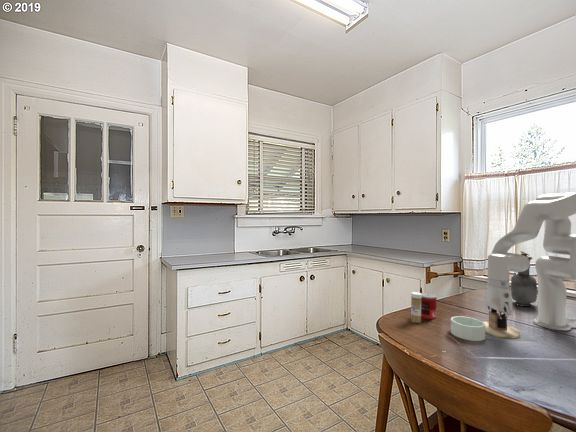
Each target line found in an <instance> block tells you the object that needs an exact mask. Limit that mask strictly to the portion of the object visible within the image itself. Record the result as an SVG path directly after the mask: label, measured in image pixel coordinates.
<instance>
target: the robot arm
mask: <svg viewBox="0 0 576 432" xmlns="http://www.w3.org/2000/svg"><path fill="white" fill-rule="evenodd" d="M520 211H521V212H520V214H519V215H518V218H517V220H516V223H515V225H514V228H513V229H512V230H511V231H510V232H508V233H506V234H505V235H504V236H502V237H500V239H498V241H496V243H495V245H494V246H493V248H492V251H491V253H490V254H489V255H488V256H487V282H486V283H487V286H486V293H485V294H486V296H485V305H486V306H487V310H488V314H489V313H498V317H499V318H497V327H498V328H506V319H507V320H508V318H509V317H511V316H512V312H513V298H512V296H511V288H510V272H515V273H516V272H517V273H518V272H523V271H525V270H527V269H528V268H529V266H530V267H531V260H530V261H529V259H528V258H527V257H525V256H523V255H521V253H520V254H519V253H512V252H508V251H509V250H510V249H511V248H512V247H514V246H516V245H519V244H521V243H524V242H528V241H531V240H534V239H535V238H537V237H538V235H539V233H540V230H541V229H542V227H543V226H542V225H543V223H544V221H545V229H544V234H543V241H542V242H543V243H542V247H543V249H544V251H545V252H547V253H551V254H557V255H564V256H565V255H566V256H569V257H561V256H552V255H541V256H539V257H538V258H537V259H536V260H535V263H534V264H535V267H534V268H535V271H536V274H537V275H536V276H537V317H536V318H533V321H532V322H533V323H534V324H535V325H537V326H539V327H542V328H545V329H550V330H553V331H561V332H562V331H563V332H565V331H567V332H568V331H570V330H571V329H572V326H571V325H570V323H572V324H576V318H574V317H573V318H571V317H570V318H569V317H568V316H567V286H566V284H565V283H564V281H563V280H565V281H571V282H576V233H571V232H572V231H571V230H572V229H571V228H572V222H571V219H570V218H569V217H571V216H573V215H576V192H565V193H562V192H561V193H560V192H559V193H547V194H541V195H539V196H537V197H536V199H535V200H532V201H529V202H527V203H525V204H524V206H523V208H522V209H521V210H520ZM529 269H530V268H529ZM501 313H502V315H501Z"/></svg>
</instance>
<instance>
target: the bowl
mask: <svg viewBox="0 0 576 432" xmlns="http://www.w3.org/2000/svg"><path fill="white" fill-rule="evenodd" d="M484 322H485V321H482V320H480V319H478V318H474V317H469V316H465V315H456V316H452V317H451V318H450V333H451V334H452V335H453V336H454V337H457V338H459V339H462V340H467V341H470V342H471V341H473V342H481V341H484V340H486V337H485V323H484Z"/></svg>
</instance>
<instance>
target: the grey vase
mask: <svg viewBox="0 0 576 432" xmlns="http://www.w3.org/2000/svg"><path fill="white" fill-rule="evenodd" d="M520 255H523V256H525V257H527V258H528V259H529V261H530V262H531V260H533V257H532V256H530V254H529V253H527V252H525V251H522V250H520ZM530 268H531V265H530V266H529V268H528V269H527V270H525V271H523V272H517V274H514V275H512V276H511V279H510V291H511V296H512V301H515V302H514V304H515V303H516V304H518V305H523V306H531V307H532V305H533V303H536V302H537V301H538V282H537V279H536V278H535V277H533V276H531V275H530ZM516 304H515V305H516ZM518 305H517V306H518Z"/></svg>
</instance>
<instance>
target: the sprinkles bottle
mask: <svg viewBox="0 0 576 432" xmlns="http://www.w3.org/2000/svg"><path fill="white" fill-rule="evenodd" d="M421 293H422V292H417V291H412V292H411V293H410V298H411V300H410V301H411V304H410V305H411V306H410V309H411V310H410V321H411V322H412V323H416V324H420V323H421V322H422V318H421V298H422V294H421Z"/></svg>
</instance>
